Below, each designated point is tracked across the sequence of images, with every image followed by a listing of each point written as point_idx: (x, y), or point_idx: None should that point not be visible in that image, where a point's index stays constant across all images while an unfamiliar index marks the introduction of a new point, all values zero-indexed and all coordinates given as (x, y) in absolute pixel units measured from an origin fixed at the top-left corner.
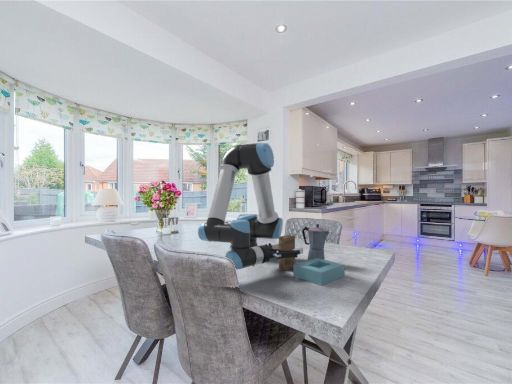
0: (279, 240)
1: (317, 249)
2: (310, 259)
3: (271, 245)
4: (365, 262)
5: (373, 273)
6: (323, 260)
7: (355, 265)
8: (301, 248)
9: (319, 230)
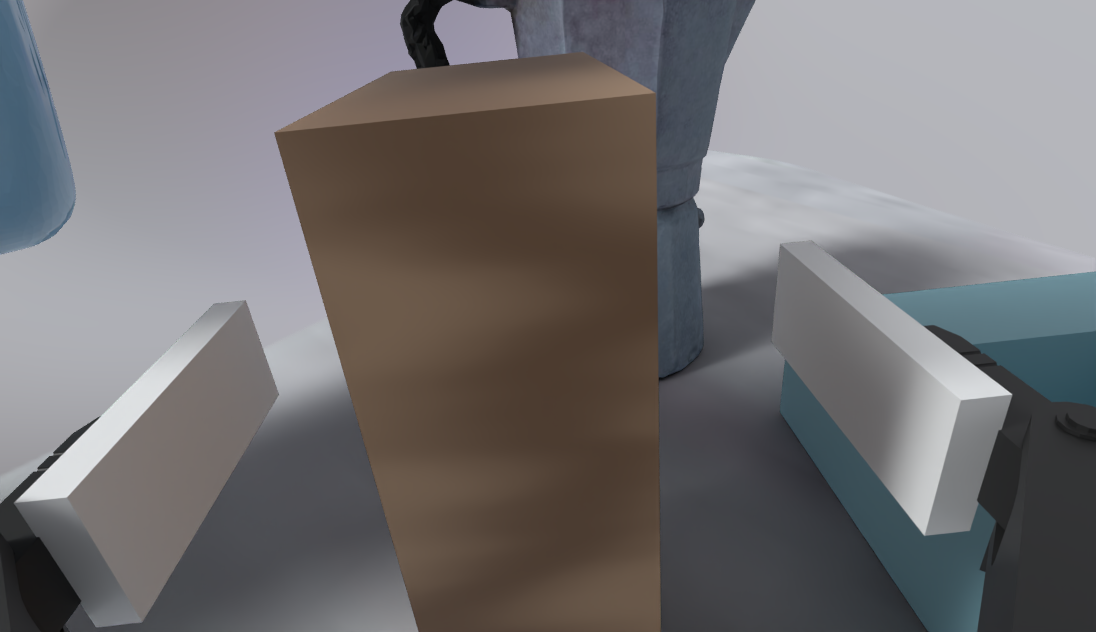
0: (355, 280)
1: (679, 205)
2: None
3: (14, 498)
4: (766, 199)
5: (1025, 249)
6: (933, 308)
7: (804, 237)
8: (835, 267)
9: None
